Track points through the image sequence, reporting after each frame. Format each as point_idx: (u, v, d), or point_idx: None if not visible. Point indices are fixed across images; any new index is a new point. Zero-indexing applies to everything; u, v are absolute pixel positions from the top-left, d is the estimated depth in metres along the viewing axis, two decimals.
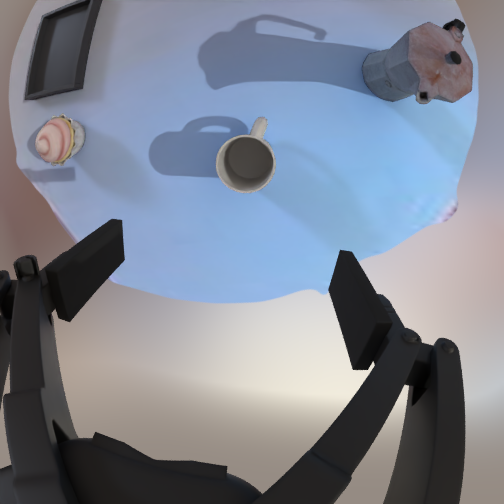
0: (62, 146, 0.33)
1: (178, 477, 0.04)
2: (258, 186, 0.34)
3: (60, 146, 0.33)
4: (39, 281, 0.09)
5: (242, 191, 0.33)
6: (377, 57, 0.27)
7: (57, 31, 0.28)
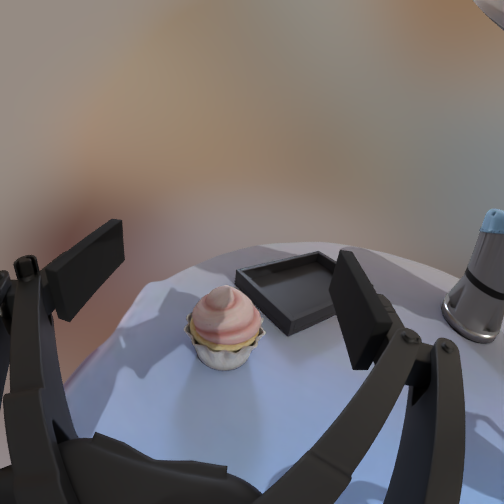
0: (231, 331, 0.27)
1: (178, 477, 0.04)
2: None
3: (232, 328, 0.27)
4: (39, 281, 0.09)
5: None
6: None
7: (315, 275, 0.51)
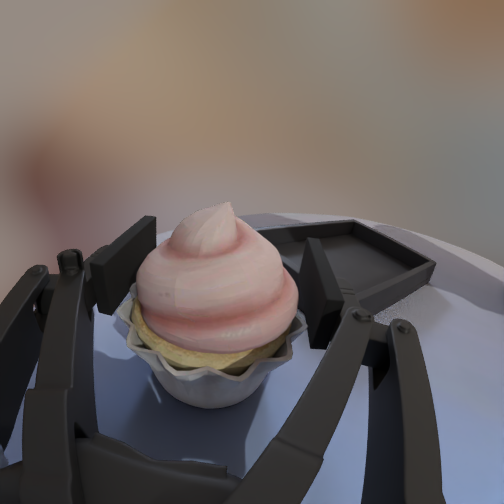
0: (227, 316, 0.09)
1: (178, 477, 0.04)
2: None
3: (230, 306, 0.09)
4: (82, 276, 0.10)
5: None
6: None
7: (354, 248, 0.34)
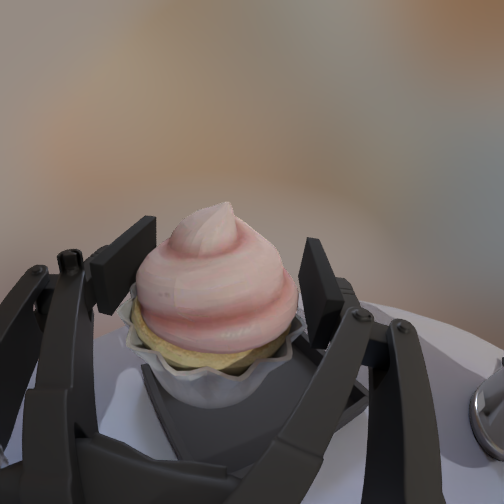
0: (227, 316, 0.09)
1: (178, 477, 0.04)
2: None
3: (230, 306, 0.09)
4: (82, 276, 0.10)
5: None
6: None
7: (280, 369, 0.29)
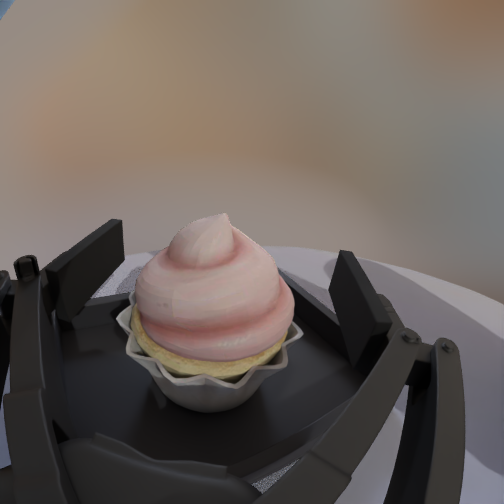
0: (224, 326, 0.10)
1: (178, 477, 0.04)
2: None
3: (226, 317, 0.10)
4: (39, 281, 0.09)
5: None
6: None
7: None
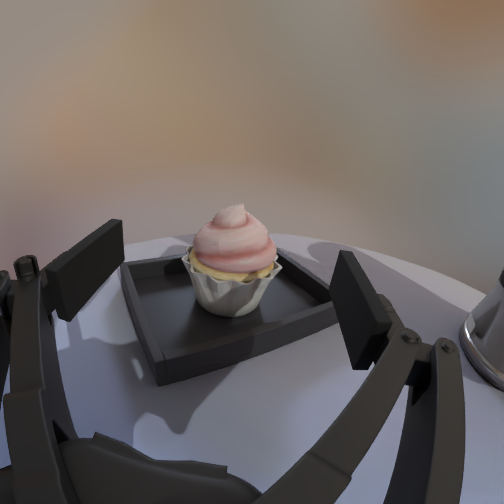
0: (242, 253, 0.22)
1: (178, 477, 0.04)
2: None
3: (243, 248, 0.22)
4: (39, 281, 0.09)
5: None
6: None
7: None
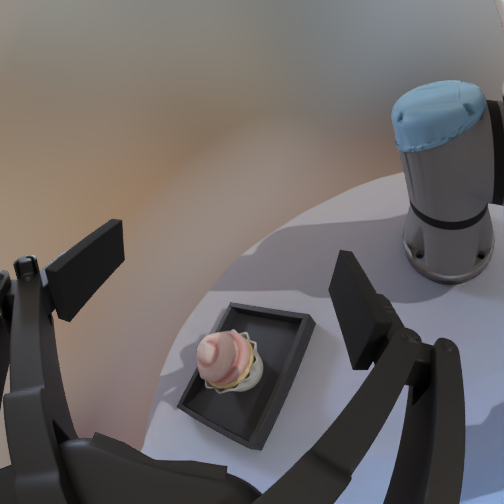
0: (232, 368, 0.30)
1: (178, 477, 0.04)
2: None
3: (231, 366, 0.30)
4: (39, 281, 0.09)
5: None
6: None
7: None
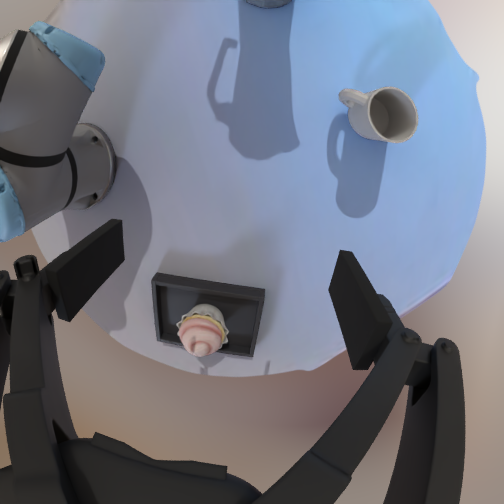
0: (206, 328, 0.43)
1: (178, 477, 0.04)
2: (410, 109, 0.27)
3: (205, 329, 0.42)
4: (39, 281, 0.09)
5: (416, 124, 0.27)
6: None
7: None
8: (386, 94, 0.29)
